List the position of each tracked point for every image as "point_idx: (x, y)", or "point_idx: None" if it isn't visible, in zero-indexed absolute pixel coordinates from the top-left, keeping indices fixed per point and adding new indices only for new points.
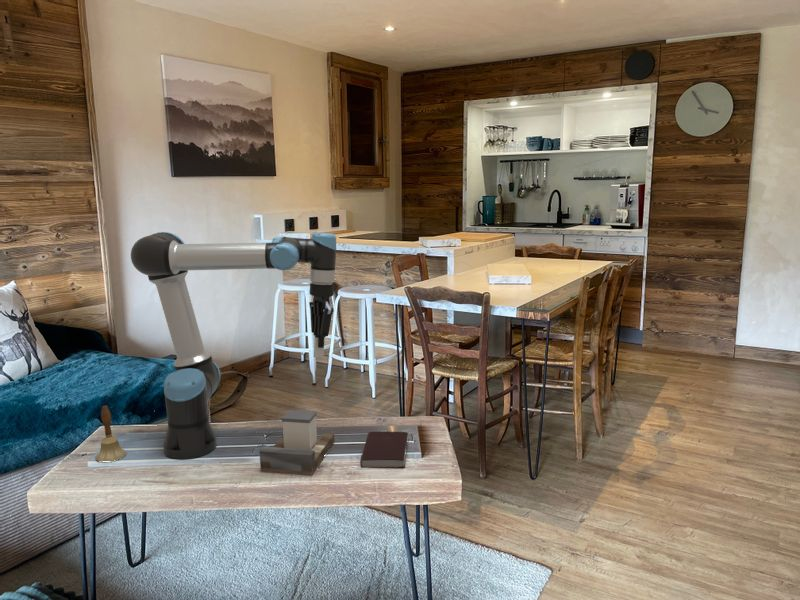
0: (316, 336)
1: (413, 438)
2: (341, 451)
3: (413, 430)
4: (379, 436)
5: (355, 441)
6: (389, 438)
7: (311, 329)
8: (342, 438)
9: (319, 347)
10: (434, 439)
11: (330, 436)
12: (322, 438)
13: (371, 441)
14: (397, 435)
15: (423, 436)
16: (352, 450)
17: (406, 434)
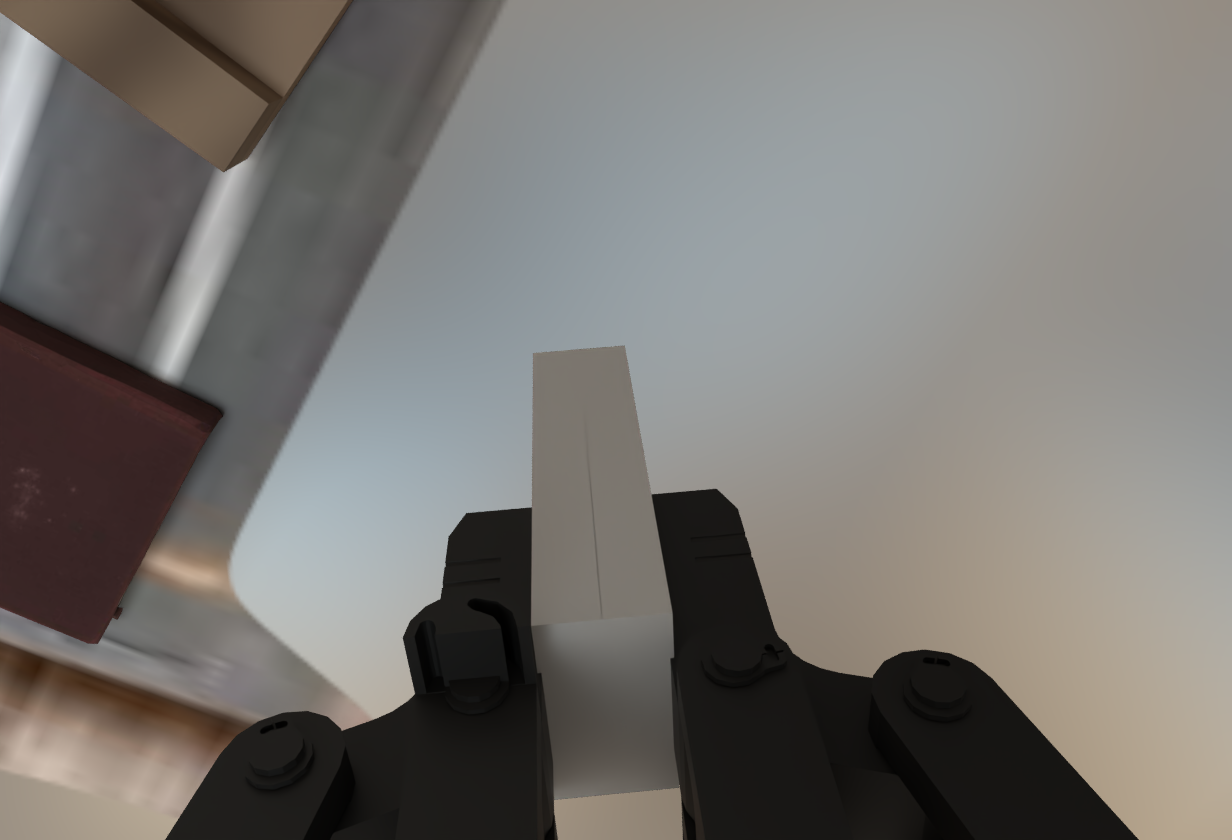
0: (410, 631)
1: (114, 646)
2: (68, 145)
3: (237, 692)
4: (77, 462)
5: (211, 308)
6: (10, 506)
7: (1010, 713)
8: (303, 243)
9: (463, 517)
10: (55, 737)
11: (173, 119)
12: (155, 38)
13: (10, 380)
14: (50, 570)
15: (122, 704)
16: (59, 228)
17: (52, 624)
